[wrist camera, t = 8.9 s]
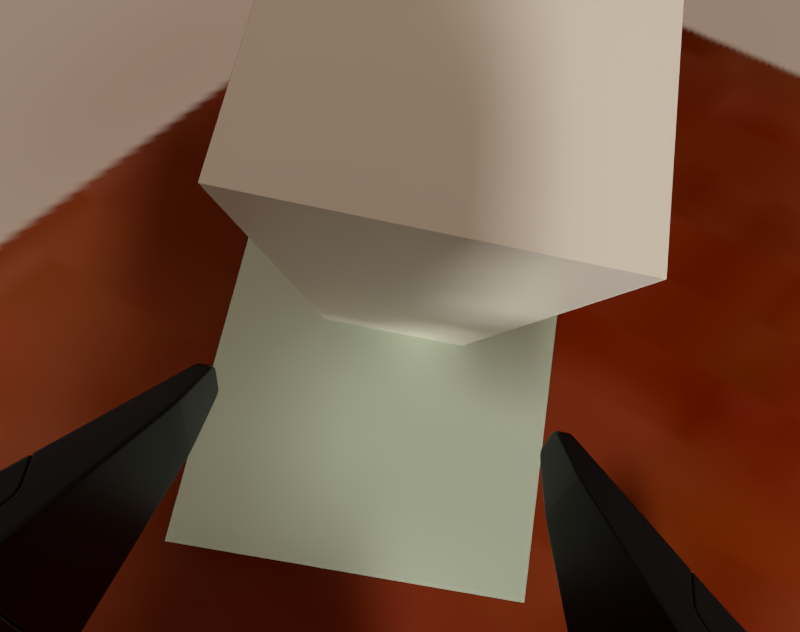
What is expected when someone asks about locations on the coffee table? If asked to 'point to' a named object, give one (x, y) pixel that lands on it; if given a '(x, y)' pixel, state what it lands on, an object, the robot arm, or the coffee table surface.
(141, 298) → the coffee table surface
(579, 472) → the robot arm
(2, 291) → the coffee table surface
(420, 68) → the plug housing
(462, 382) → the board
